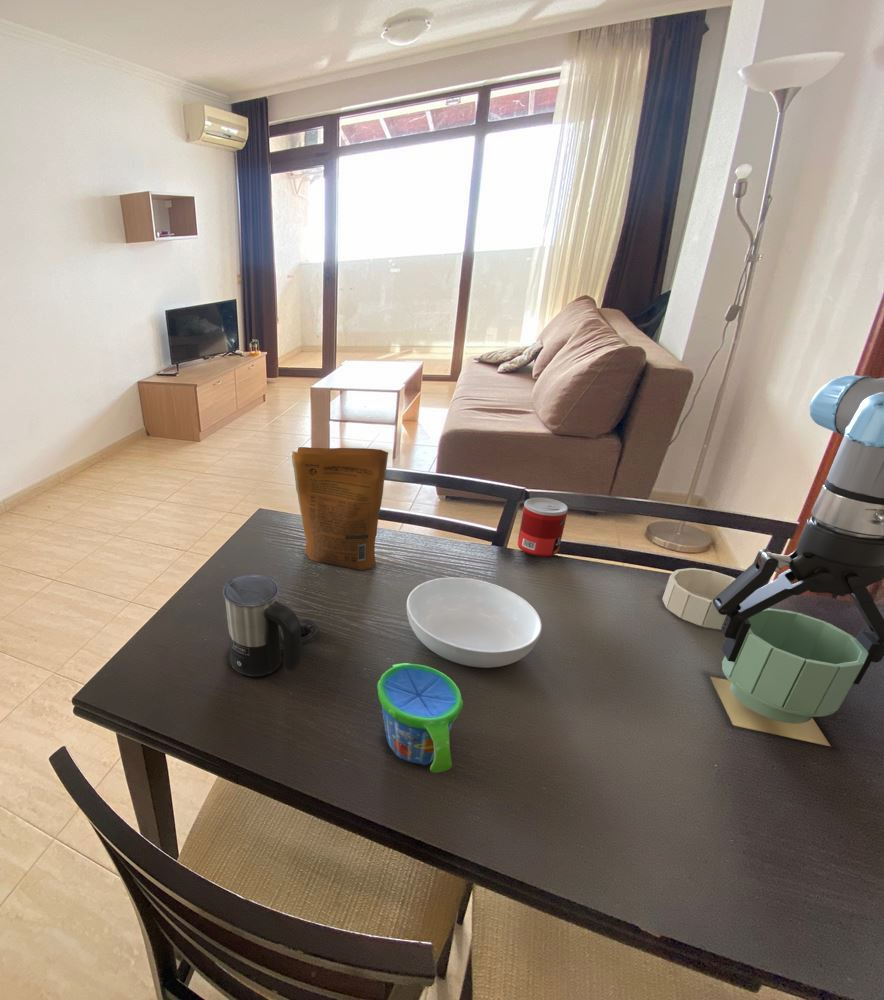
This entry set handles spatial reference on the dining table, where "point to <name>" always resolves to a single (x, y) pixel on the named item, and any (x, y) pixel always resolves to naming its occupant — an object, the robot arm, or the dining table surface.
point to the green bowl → (794, 666)
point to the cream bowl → (696, 595)
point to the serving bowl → (473, 621)
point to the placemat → (765, 718)
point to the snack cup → (419, 713)
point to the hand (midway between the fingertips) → (786, 665)
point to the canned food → (542, 526)
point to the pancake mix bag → (340, 503)
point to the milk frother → (263, 627)
